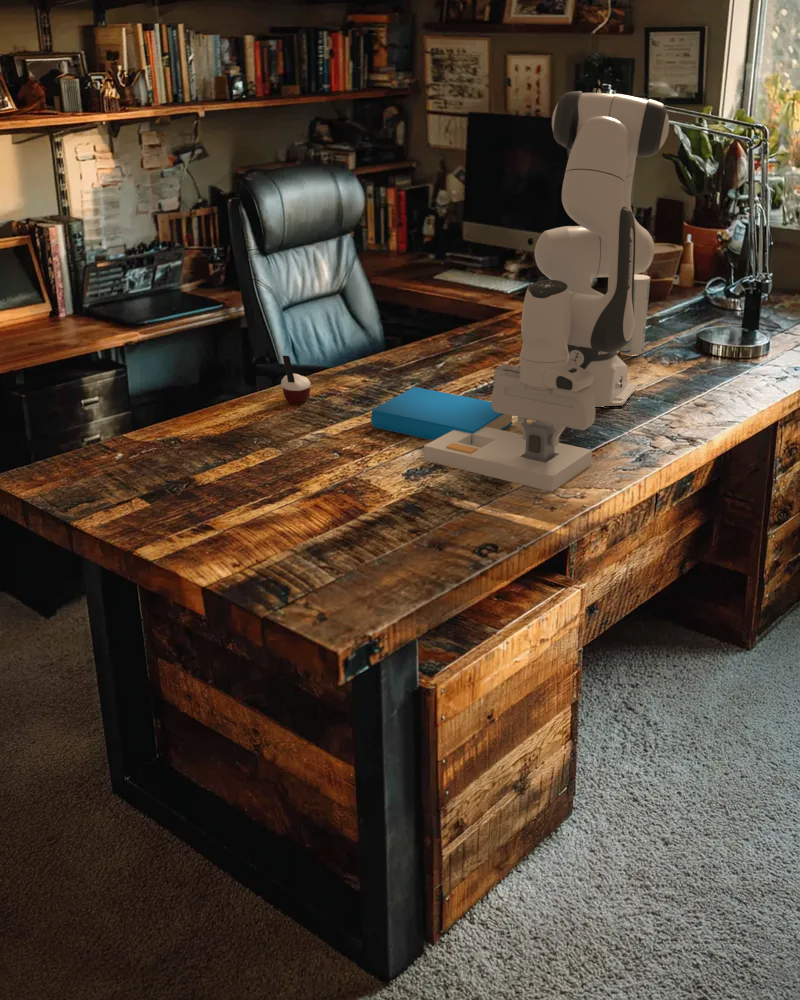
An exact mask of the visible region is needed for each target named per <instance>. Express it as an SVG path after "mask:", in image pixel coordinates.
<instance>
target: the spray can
mask: <svg viewBox="0 0 800 1000" xmlns="http://www.w3.org/2000/svg"><path fill="white" fill-rule="evenodd" d="M650 284H651V276H649V275H646V274H641V273H638V274H634V331H633V336H632V339H631V341H630V342H629V343H628V344H627V345H625V346H624V347H623V348H621V349H619V350H618V353H619V352H620V353H623V354H629V355H632V354H633V355H634V354H636V355H637V354H642V353H643V354H644V350H645V339H646V331H647V330H646V328H647V326H646V325H647V317H648V307H649V305H648V304H649V296H650V287H651V286H650Z"/></svg>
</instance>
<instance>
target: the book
mask: <svg viewBox="0 0 800 1000" xmlns="http://www.w3.org/2000/svg"><path fill="white" fill-rule="evenodd" d="M491 402H492V401H490V400H485V399H479V398H474V397H468V396H463V395H457V394H454V393H448V392H444V391H438V390H433V389H427V388H423V387H416V386H414V387H412V388H410V389H407V390H406V391H404V392H402V393H401V394H398V395H397V396H394V397H393V398H391V399H390V400H387V401H386V402H383V403H382V404H379V405H378V406H376V407H374V408H373V409H371V416H370V421H371V424H372V427H373V428H377V429H381V430H385V431H389V432H393V433H398V434H403V435H407V436H412V437H417V438H420V439H421V438H422V439H425V440H430V441H434V440H436V439H438V438H439V437H441V436H443V435H445V434H447V433H449V432H451V431H453V430H458V431H463V432H468V433H472V434H473V433H475V432H477V431H478V430H480V429H482V428H484V427H490V428H494V429H499V430H503V431H505V429H506V428H508V427H510V426H511V425H513V424H514V423H513V416H512V415H508V414H503V413H498V412H495V411H494V410H493V408H492V406H491ZM471 444H472V437H471Z"/></svg>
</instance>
